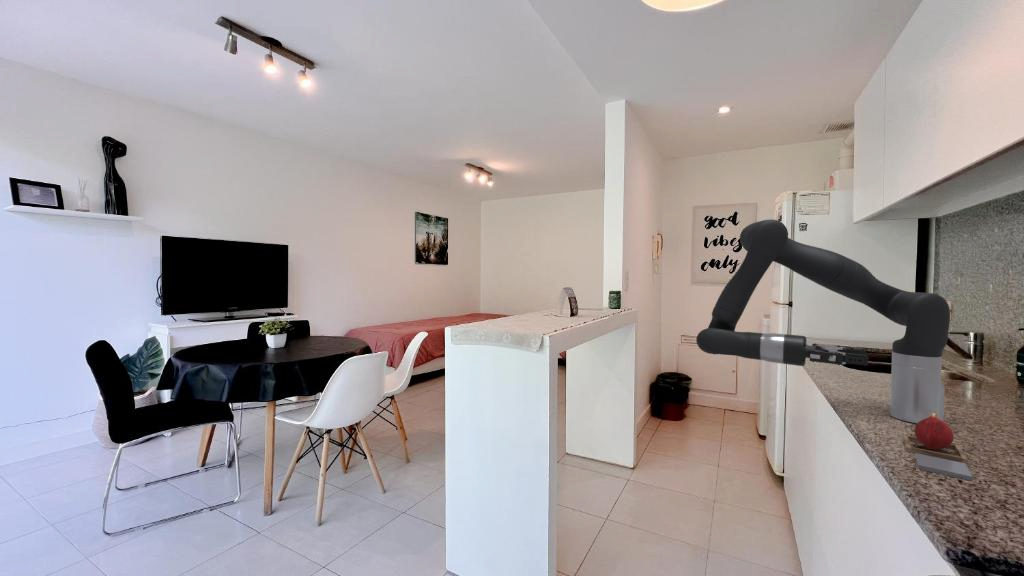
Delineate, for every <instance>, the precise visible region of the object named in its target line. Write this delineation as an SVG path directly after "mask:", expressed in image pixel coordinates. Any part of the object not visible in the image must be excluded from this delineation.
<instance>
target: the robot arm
mask: <svg viewBox="0 0 1024 576" xmlns="http://www.w3.org/2000/svg"><path fill="white" fill-rule="evenodd" d="M739 240H740V245H741V246H742V248H743V249H744V250H745V251H746V255H745V257H744V259H743V261H742V263H741V265H740V266H739V268H738V269H737V271H735V273H734V274H733V276H732V277H731V279H729V281H728V282H727V283H726V284H725V286H724V287H723V290H722V291H721V292H720V295H719V297H718V299H717V301H716V303H715V305H714V307H713V308H712V312H711V320H710V321H709V324H708V327H707V328H705V329H702V330H700V331H699V332H698V334H697V336H696V339H695V341H696V345H697V347H698V349H700V350H701V351H702V352H703V353H706V354H711V355H722V356H723V355H725V356H735V357H740V358H744V359H749V360H760V361H764V362H767V363H768V362H769V363H773V364H775V363H776V364H782V365H789V366H790V365H792V366H797V367H798V366H799V367H804V366H805V365H806V359H809V361H810V362H812V363H814V362H815V363H824V364H828V365H829V364H830V365H831V364H832V365H838V366H843V365H846V364H849V365H858V366H859V365H860V366H868V365H869V356H868V355H867V351H866V350H864V349H859V348H858V349H857V348H849V347H848V348H846V347H844V346H841V345H834V344H823V343H816V342H814V343H812V345H808V344H807V337H806V336H804V335H798V334H786V333H775V332H772V333H771V332H769V333H767V332H766V333H762V332H752V331H736V327H737V325H738V322H739V321H740V319H741V317H742V315H743V313H744V311H745V309H746V307H747V306H748V303H749V301H750V300H751V297H752V295H753V294H754V292H755V290H756V288H757V286H758V284H759V283H760V281H761V280H762V279H763V277H764V275H765V274H766V272H767V271H768V269H769V268H770V266H771V265H772V263H773V262H774V263H776V264H779V265H781V266H784V267H785V268H787V269H789V270H790V271H792V272H794V273H796V274H798V275H800V276H802V277H803V278H805V279H808V280H809V281H811V282H814V283H815V284H816V285H819V286H821V287H823V288H825V289H828V290H829V291H831V292H833V293H837V294H838V295H841V296H843V297H846V298H847V299H850V300H853V301H855V302H858V303H861V304H863V305H865V306H866V307H868V308H870V309H872V310H874V311H876V312H877V313H878V314H879V315H882V316H883V317H885V318H887V319H888V320H889V321H891V322H893V323H895V324H898V325H900V326H904V327H905V333H904V335H903V337H902V338H899V339H896V340H894V341H893V342H892V347H891V350H892V351H891V370H890V371H891V373H890V374H891V375H890V377H891V379H890V400H889V402H890V403H889V407H890V408H889V415H890V417H892V418H895V419H897V420H901V421H904V422H908V423H913V424H917V423H918V422H919V421H921V420H923V419H925V418H929V417H930V416H931V414H933V413H934V414H936V415H938V418H939V419H940V420H941V421H943V422H944V415H945V414H944V411H945V410H944V408H945V389H946V388H945V386H944V385H942V364H943V362H942V361H943V360H942V359H943V351H944V349H945V347H946V346H947V343H948V339H949V332H950V331H949V330H950V324H951V323H950V322H951V309H950V305H949V303H948V301H947V300H946V299H945V298H944V297H943V296H941V295H939V294H936V293H934V292H933V293H932V292H918V291H917V292H915V291H907V290H903V289H899V288H897V287H895V286H892V285H889V284H887V283H885V282H883V281H881V280H879V279H878V278H876V277H875V275H873V273H872V272H871V271H870V270H869V269H867V268H866V267H865V266H864V265H863V264H861V263H859V262H857V261H855V260H853V259H851V258H849V257H847V256H845V255H843V254H840V253H838V252H835V251H833V250H828V249H824V248H823V247H822V248H821V247H817V246H813V245H809V244H805V243H801V242H799V241H796V240H794V239H792V238H790V237H789V230H788V228H787V226H786V225H785V224H784V223H783V222H781V221H780V220H777V219H764V220H759V221H755V222H753V223H750V224H749V225H747V226H745V227H744V228H743V229H742V231H741V233H740V234H739Z"/></svg>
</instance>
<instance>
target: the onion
mask: <svg viewBox="0 0 1024 576" xmlns="http://www.w3.org/2000/svg"><path fill="white" fill-rule="evenodd" d="M913 432H914V435H915V437H917V439H918V440H919V441H920V442H921V443H922V445H923V446H924V447H926V448H927V450H929V451H934V452H938V451H940V450H943V449H947V448H946V447H948V446H949V445H950V444H953V441H954V433H953V430H952V429H951V427H950V426H949V425H948V424H947V423H945V421H944V420H943V421H941V420H940V419H939V418H938V415H936V414H934V413H933V414H931V416H930V417H929V418H925V419H923V420H921V421H919V422H918V423H915V426H914V431H913ZM921 443H920V444H921Z"/></svg>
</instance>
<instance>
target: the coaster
mask: <svg viewBox="0 0 1024 576" xmlns="http://www.w3.org/2000/svg"><path fill="white" fill-rule="evenodd" d="M914 457H915V458H914V459H915V462H916V464H917V465H916V466H917V469H918V470H922V471H926V472H931V473H935V474H940V475H944V476H948V477H953V478H958V479H961V480H967V481H971V482H973V481H974V479H973V478H974V476H973V474H972V473H971V471H970V469H969V468H968V466H967V464H965V463H961V462H956V461H951V460H946V459H942V458H937V457H932V456H927V455H922V454H917V453H914Z"/></svg>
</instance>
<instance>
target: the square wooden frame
mask: <svg viewBox="0 0 1024 576" xmlns="http://www.w3.org/2000/svg"><path fill="white" fill-rule="evenodd" d="M902 441H903V445H904V448H905V452H906V451H907V452H906V453H911V452H912V453H911V454H915V453H917V454H922V455H927V456H932V457H937V458H942V459H946V460H951V461H956V462H961V463H965V464H966V465H968V463H969V462H968V461H969V459H968V457H967V455H966V454H965V452H964V451H963V449H962V447H961V446H960V445H959V444H955V443H951V444H950V445H949V446H948V447H946V448H945V449H946V450H947V449H949V450H952V451H955V452H956V454H957V455H954V454H949V453H944V452H938V451H932V450H930V449H922V448H919V447H913V446H911V444H910V442H913V443H916V444H922V443H921V442H920V441H919V440H918V439H917V437H916V436H911V435H906V434H903V435H902ZM922 445H923V444H922Z"/></svg>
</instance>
